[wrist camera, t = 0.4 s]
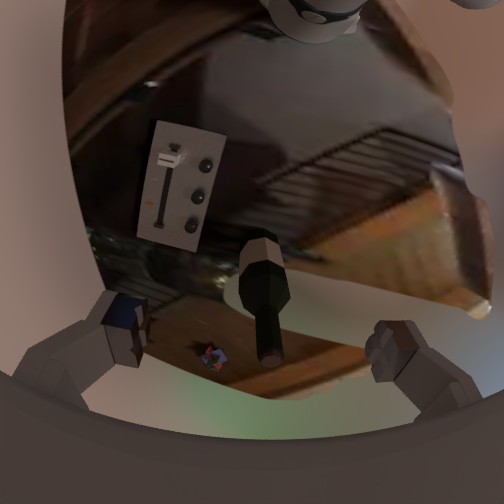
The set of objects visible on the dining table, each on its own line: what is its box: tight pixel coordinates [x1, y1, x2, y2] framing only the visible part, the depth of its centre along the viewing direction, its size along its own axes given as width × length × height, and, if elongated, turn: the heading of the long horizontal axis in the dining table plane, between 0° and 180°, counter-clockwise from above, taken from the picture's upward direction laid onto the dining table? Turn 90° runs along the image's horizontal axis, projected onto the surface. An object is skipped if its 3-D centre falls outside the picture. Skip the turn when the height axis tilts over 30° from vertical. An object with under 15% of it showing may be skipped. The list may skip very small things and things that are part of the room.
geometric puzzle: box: [201, 345, 229, 372], centre depth 70 cm, size 7×7×8 cm
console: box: [137, 120, 228, 252], centre depth 49 cm, size 24×13×4 cm, turn 163°
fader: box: [157, 150, 182, 168], centre depth 44 cm, size 2×3×4 cm, turn 73°
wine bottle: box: [239, 228, 290, 368], centre depth 44 cm, size 8×8×30 cm
